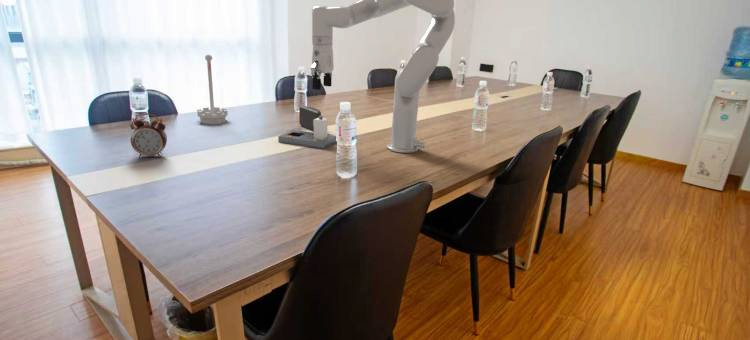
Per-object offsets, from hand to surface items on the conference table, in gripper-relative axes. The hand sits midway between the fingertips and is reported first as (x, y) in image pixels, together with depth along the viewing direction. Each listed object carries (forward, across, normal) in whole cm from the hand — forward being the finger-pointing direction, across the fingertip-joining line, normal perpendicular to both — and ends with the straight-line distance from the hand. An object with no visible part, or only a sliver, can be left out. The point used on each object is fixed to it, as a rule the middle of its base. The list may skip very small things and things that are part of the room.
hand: (322, 87), depth 166 cm
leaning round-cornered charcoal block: (+23, +18, +15) cm, 33 cm away
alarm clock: (+22, -42, +44) cm, 65 cm away
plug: (+22, -1, 0) cm, 22 cm away
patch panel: (+22, -1, +6) cm, 23 cm away
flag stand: (+22, +10, +60) cm, 64 cm away
